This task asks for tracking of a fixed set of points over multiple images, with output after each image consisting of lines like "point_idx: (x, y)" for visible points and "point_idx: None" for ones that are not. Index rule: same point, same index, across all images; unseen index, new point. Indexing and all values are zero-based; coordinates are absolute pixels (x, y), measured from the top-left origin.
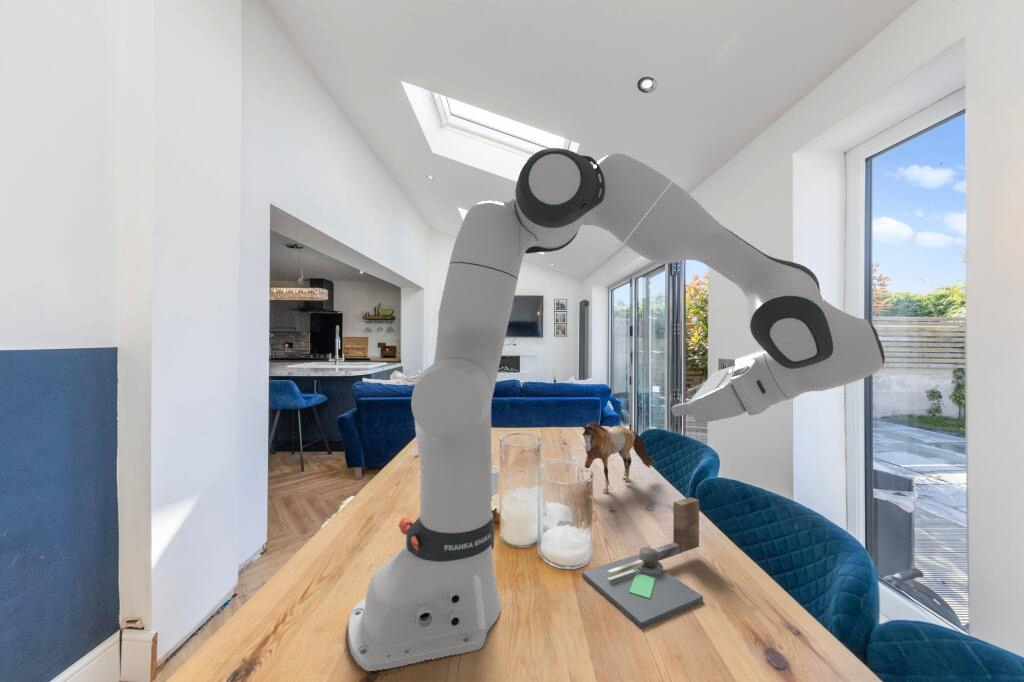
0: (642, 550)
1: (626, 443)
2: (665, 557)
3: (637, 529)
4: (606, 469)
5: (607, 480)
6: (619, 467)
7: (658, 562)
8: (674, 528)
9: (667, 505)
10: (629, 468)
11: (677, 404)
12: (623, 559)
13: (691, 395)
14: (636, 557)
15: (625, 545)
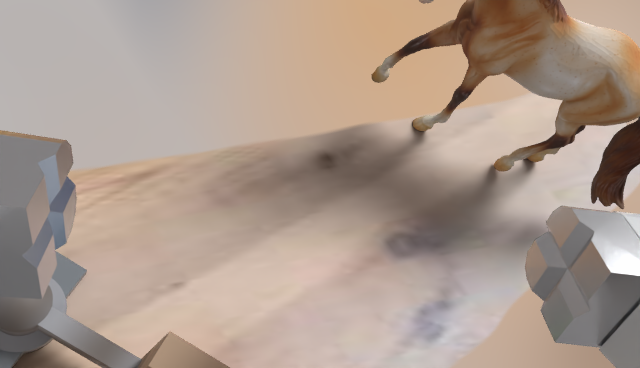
0: None
1: (583, 102)
2: (70, 348)
3: (257, 239)
4: (460, 92)
5: (445, 112)
6: (583, 131)
7: None
8: (149, 352)
9: (450, 286)
10: (538, 151)
11: (6, 171)
12: None
13: (563, 273)
14: (62, 268)
15: (143, 227)
